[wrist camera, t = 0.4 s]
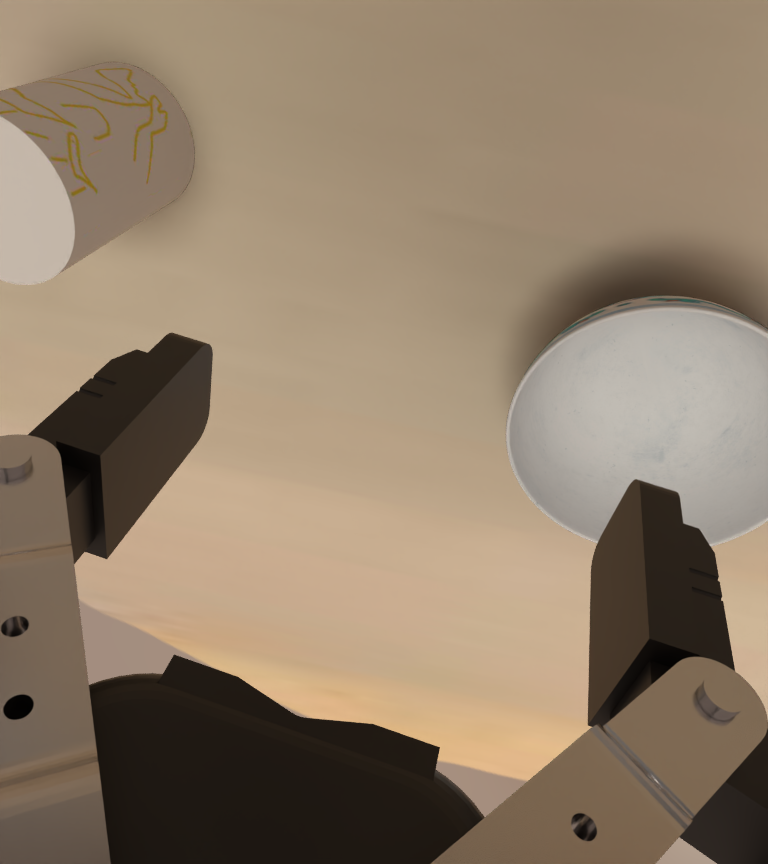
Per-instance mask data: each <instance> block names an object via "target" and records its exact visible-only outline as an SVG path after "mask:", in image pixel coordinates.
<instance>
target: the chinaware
mask: <svg viewBox="0 0 768 864" xmlns="http://www.w3.org/2000/svg"><path fill="white" fill-rule="evenodd" d="M506 445H507V452H508V457H509V460H510V464H511V467H512V469H513V472H514V474H515V476H516V478H517V480H518V482H519V484H520V486H521V487H522V489H523V490H524V492H525V493H526V495H527V496H528V497H529V498H530V500H531V501H532V502H533V503H534V504H535V505H536V506H537V507H538V508H539V509H540V510H541V511H542V512H543V513H544V514H545V515H546V516H548V517H549V518H550V519H551V520H553V521H554V522H556V523H557V524H559V525H560V526H562V527H563V528H565V529H567V530H568V531H570V532H572V533H574V534H576V535H578V536H580V537H582V538H585V539H587V540H589V541H592V542H595V543H598V541H599V539H600V537H601V535H602V533H603V531H604V529H605V528H606V526H607V524H608V522H609V520H610V519H611V517H612V515H613V513H614V511H615V510H616V508H617V506H618V504H619V502H620V501H621V499H622V497H623V495H624V493H625V492H626V490H627V488H628V486H629V485H630V484H631V482H632V481H633V480H635V479H638V480H641V481H644V482H647V483H650V484H654V485H657V486H660V487H663V488H666V489H670V490H673V491H676V492H678V493H679V496H680V502H681V509H682V517H683V524H687V525H690V526H693V527H696V528H699V529H700V531H701V532H702V534H703V535H704V537H705V539H706V540H707V542H708V543H709V545H710V547H711V546H715V545H718V544H721V543H724V542H727V541H730V540H732V539H735V538H737V537H740V536H742V535H744V534H746V533H748V532H750V531H752V530H754V529H756V528H757V527H759V526H761V525H762V524H764V523H766V522H767V521H768V329H766V328H765V327H764V326H762V325H761V324H759V323H758V322H756V321H754V320H753V319H751V318H749V317H747V316H745V315H744V314H742V313H739V312H737V311H735V310H733V309H730V308H728V307H725V306H723V305H720V304H717V303H713V302H710V301H706V300H702V299H697V298H691V297H683V296H648V297H640V298H634V299H629V300H625V301H621V302H617V303H614V304H611V305H608V306H606V307H603V308H601V309H598V310H596V311H594V312H592V313H590V314H588V315H586V316H584V317H583V318H581V319H579V320H578V321H576V322H574V323H573V324H571V325H570V326H569V327H567V328H566V329H565V330H563V331H562V332H561V333H560V334H558V335H557V336H556V337H555V338H554V339H553V340H552V341H551V342H550V343H549V344H548V345H547V346H546V347H545V348H544V349H543V350H542V351H541V352H540V354H539V355H538V356H537V357H536V358H535V360H534V361H533V362H532V364H531V365H530V367H529V368H528V370H527V371H526V373H525V374H524V376H523V378H522V379H521V381H520V383H519V385H518V387H517V389H516V391H515V393H514V396H513V398H512V401H511V404H510V408H509V412H508V417H507V423H506Z"/></svg>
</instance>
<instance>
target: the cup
mask: <svg viewBox="0 0 768 864" xmlns="http://www.w3.org/2000/svg"><path fill="white" fill-rule="evenodd" d="M194 159H195V152H194V142H193V137H192V133H191V129H190V126H189V123H188V121H187V118H186V116H185V114H184V112H183V110H182V109H181V107H180V105H179V104H178V102H177V101H176V99H175V98H174V96H173V95H172V94H171V93H170V92H169V90H168V89H167V88H166V87H165V86H164V85H163V84H162V83H161V82H159V81H158V80H157V79H156V78H155V77H153V76H152V75H150V74H149V73H147V72H146V71H144V70H142V69H140V68H137V67H135V66H132V65H129V64H125V63H119V62H108V63H102V64H98V65H94V66H91V67H87V68H83V69H80V70H76V71H72V72H69V73H65V74H61V75H58V76H54V77H50V78H47V79H43V80H39V81H36V82H32V83H28V84H25V85H21V86H17V87H14V88H10V89H6V90H3V91H0V280H1V281H5V282H8V283H12V284H19V285H33V284H39V283H43V282H46V281H48V280H50V279H52V278H53V277H55V276H56V275H58V274H60V273H61V272H63V271H64V270H66V269H67V268H69V267H71V266H72V265H74V264H75V263H77V262H78V261H80V260H82V259H83V258H85V257H86V256H88V255H89V254H91V253H92V252H94V251H96V250H97V249H99V248H100V247H102V246H103V245H105V244H107V243H108V242H110V241H111V240H113V239H114V238H116V237H118V236H119V235H121V234H122V233H124V232H125V231H127V230H129V229H130V228H132V227H133V226H135V225H136V224H138V223H139V222H141V221H143V220H144V219H146V218H147V217H149V216H150V215H152V214H154V213H155V212H157V211H158V210H160V209H161V208H163V207H165V206H166V205H168V204H169V203H171V202H172V201H174V200H175V199H177V198H178V197H179V196H180V195H181V194H182V192H183V191H184V190H185V188H186V187H187V185H188V183H189V181H190V179H191V176H192V172H193V168H194Z"/></svg>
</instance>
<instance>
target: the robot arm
mask: <svg viewBox="0 0 768 864" xmlns="http://www.w3.org/2000/svg"><path fill="white" fill-rule="evenodd" d="M212 356H213V353H212V347H211V346H210V345H209V344H207V343H203V342H200V341H197V340H194V339H191V338H187V337H184V336H181V335H178V334H175V333H169V334H167V335H166V336H165V337H164V338H163V339H162V340H161V341H160V342H159V343H158V344H157V345H156V346H155V347H154V348H152V349H151V350H150V351H149V352H148V353H146V352H143V351H140V350H134V351H132V352H129V353H127V354H124V355H122V356H119V357H117V358H115V359H112V360H111V361H109V362H108V363H107V364H106V365H105V366H104V367H103V368H102V369H100V370H99V371H98V372H97V373H96V374H95V375H94V378H93V379H91V378H90V379H89V380H88V381H87V382H86V383H85V384H84V385H83V386H82V387H80V390H79V392H78V391H76V392H75V393H74V394H73V395H72V396H70V397H69V398H68V399H67V400H66V401H65V402H64V403H63V404H62V405H60V406H59V407H58V408H57V409H56V410H55V411H54V412H53V413H52V414H50V415H49V416H48V417H47V418H46V419H45V420H44V421H43V422H42V423H40V424H39V425H38V426H37V427H36V428H35V429H34V430H33V431H32V432H30V433H29V434H28V435H6V436H0V864H655V863H656V862H657V861H658V860H659V859H660V858H661V857H662V856H663V855H664V853H665V852H666V851H667V850H668V849H669V848H670V847H671V845H672V844H673V843H674V842H675V841H676V840H677V839H678V838H679V837H680V838H681V839H683V840H684V841H686V842H687V843H689V844H690V845H692V846H693V847H694V848H696V849H697V850H699V851H700V852H701V853H703V854H704V855H706V856H707V857H709V858H710V859H711V860H713V861H714V862H716V863H717V864H768V719H767V714H766V711H765V708H764V705H763V703H762V701H761V699H760V698H759V696H758V695H757V693H756V692H755V690H754V689H753V688H752V687H751V685H750V684H749V683H748V682H747V681H746V680H745V679H744V678H743V677H741V676H740V675H739V674H738V673H736V672H735V668H734V662H733V656H732V651H731V645H730V639H729V633H728V628H727V622H726V616H725V610H724V604H723V601H721V598H722V593H721V587H720V582H719V581H718V577H719V575H718V570H717V564H716V558H715V553H714V551H713V550H712V548H711V547H710V545H709V543H708V542H707V540H706V539H705V537H704V535H703V534H702V532H701V531H700V529H699V528H696V527H693V526H690V525H687V524H683V517H682V509H681V502H680V496H679V493H678V492H676V491H673V490H670V489H666V488H663V487H660V486H657V485H654V484H650V483H647V482H644V481H641V480H638V479H635V480H633V481H632V482H631V484H630V485H629V486H628V488H627V490H626V492H625V493H624V495H623V497H622V499H621V501H620V502H619V504H618V506H617V508H616V510H615V511H614V513H613V515H612V517H611V519H610V520H609V522H608V524H607V526H606V528H605V529H604V531H603V533H602V535H601V537H600V539H599V541H598V543H597V546H596V549H595V552H594V556H593V560H592V566H591V597H590V645H589V693H588V725H589V726H591V727H592V728H590V729H589V730H588V731H587V732H585V733H584V734H583V735H582V736H581V737H580V738H578V739H577V740H576V741H575V742H574V743H572V744H571V745H570V746H569V747H568V748H567V749H565V750H564V751H563V752H562V753H561V754H559V755H558V756H557V757H556V758H555V759H554V760H552V761H551V762H550V763H549V764H548V765H546V766H545V767H544V768H543V769H542V770H541V771H539V772H538V773H537V774H536V775H535V776H533V777H532V778H531V779H530V780H529V781H528V782H526V783H525V784H524V785H523V786H522V787H520V788H519V789H518V790H517V791H516V792H515V793H513V794H512V795H511V796H510V797H509V798H507V799H506V800H505V801H504V802H503V803H502V804H500V805H499V806H498V807H497V808H496V809H494V810H493V811H492V812H491V813H490V814H489V815H487V816H486V817H484V816H483V814H482V813H481V812H480V811H479V810H478V808H477V807H476V806H475V804H474V803H473V802H472V801H471V799H470V798H469V797H468V796H467V795H466V794H465V793H464V792H463V791H462V790H461V789H460V788H459V787H458V786H456V785H455V784H454V783H453V782H452V781H451V780H449V779H448V778H447V777H446V776H444V775H443V774H441V773H440V772H438V771H437V770H436V764H437V759H438V754H439V749H440V747H437V746H434V745H431V744H428V743H425V742H423V741H420V740H417V739H414V738H411V737H408V736H405V735H403V734H400V733H397V732H394V731H391V730H388V729H385V728H383V727H380V726H377V725H374V724H366V723H355V722H344V721H333V720H322V719H312V718H303V717H299V716H297V715H295V714H293V713H291V712H290V711H288V710H287V709H285V708H284V707H282V706H281V705H279V704H278V703H276V702H275V701H273V700H272V699H270V698H269V697H267V696H266V695H264V694H263V693H261V692H260V691H258V690H257V689H255V688H254V687H252V686H251V685H249V684H248V683H246V682H245V681H243V680H242V679H240V678H239V677H237V676H234V675H231V674H228V673H225V672H222V671H219V670H217V669H214V668H211V667H208V666H205V665H202V664H199V663H196V662H193V661H191V660H188V659H185V658H182V657H179V656H176V655H174V656H173V658H172V659H171V661H170V663H169V665H168V666H167V668H166V670H165V672H164V673H163V674H153V673H152V674H132V675H126V676H118V677H114V678H110V679H106V680H102V681H99V682H96V683H94V684H91V685H89V683H88V675H87V666H86V658H85V650H84V642H83V634H82V625H81V617H80V609H79V600H78V592H77V584H76V576H75V567H74V564H75V563H76V561H77V560H78V559H79V558H80V557H81V555H82V554H83V553H84V552H88V553H91V554H93V555H96V556H99V557H102V558H105V559H107V558H108V557H109V556H110V555H111V553H112V552H113V551H114V549H115V548H116V547H117V546H118V544H119V543H120V542H121V540H122V539H123V538H124V537H125V535H126V534H127V533H128V531H129V530H130V529H131V527H132V526H133V525H134V524H135V522H136V521H137V520H138V518H139V517H140V516H141V515H142V513H143V512H144V511H145V509H146V508H147V507H148V506H149V504H150V503H151V502H152V500H153V499H154V498H155V496H156V495H157V494H158V493H159V491H160V490H161V489H162V487H163V486H164V485H165V484H166V482H167V481H168V480H169V478H170V477H171V476H172V475H173V473H174V472H175V471H176V469H177V468H178V467H179V465H180V464H181V463H182V462H183V460H184V459H185V458H186V456H187V455H188V454H189V453H190V451H191V450H192V449H193V447H194V446H195V445H196V444H197V442H198V441H199V439H200V438H201V436H202V434H203V432H204V429H205V426H206V424H207V420H208V416H209V409H210V392H211V374H212Z"/></svg>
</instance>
